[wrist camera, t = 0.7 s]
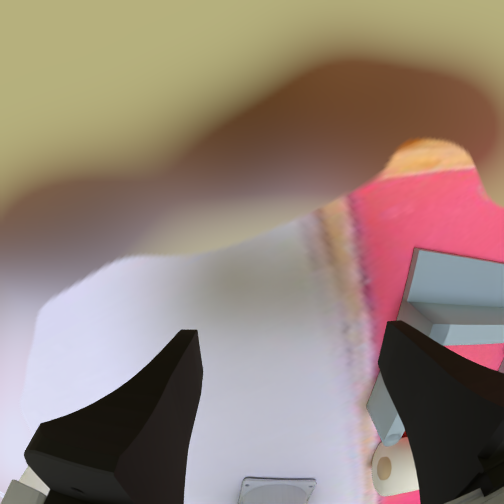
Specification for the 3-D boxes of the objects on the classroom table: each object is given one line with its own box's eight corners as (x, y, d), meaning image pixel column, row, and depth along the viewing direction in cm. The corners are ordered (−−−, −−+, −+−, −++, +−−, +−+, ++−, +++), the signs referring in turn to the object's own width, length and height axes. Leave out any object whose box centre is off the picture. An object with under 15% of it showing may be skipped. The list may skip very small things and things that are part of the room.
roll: (467, 415, 26) (491, 449, 20) (443, 451, 27) (462, 485, 21) (385, 427, 26) (405, 473, 19) (364, 464, 27) (378, 507, 21)
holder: (493, 395, 25) (515, 418, 20) (364, 410, 25) (380, 447, 20) (540, 270, 22) (571, 283, 17) (414, 247, 22) (449, 264, 17)
